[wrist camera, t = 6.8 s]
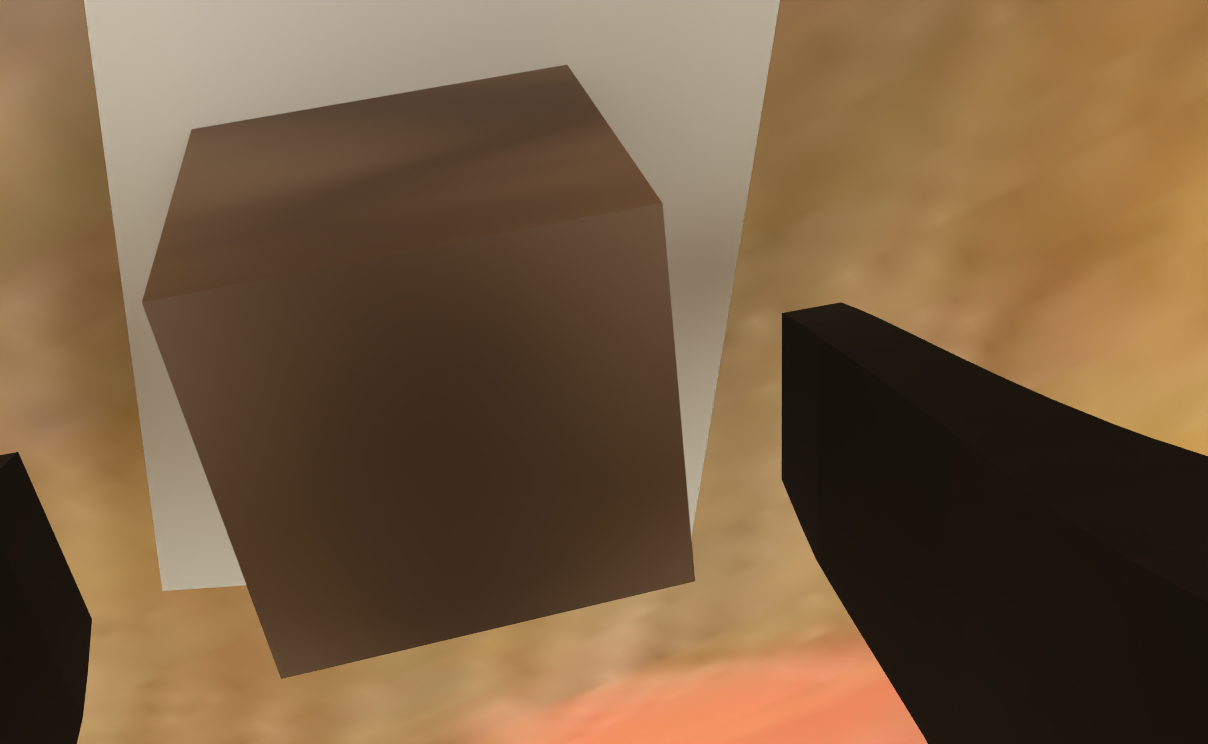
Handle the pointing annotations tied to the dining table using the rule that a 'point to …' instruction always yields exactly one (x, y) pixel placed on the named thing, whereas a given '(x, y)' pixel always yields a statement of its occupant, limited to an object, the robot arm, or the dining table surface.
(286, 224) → the walnut cube
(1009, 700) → the robot arm
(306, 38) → the tower top block
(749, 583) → the dining table surface
